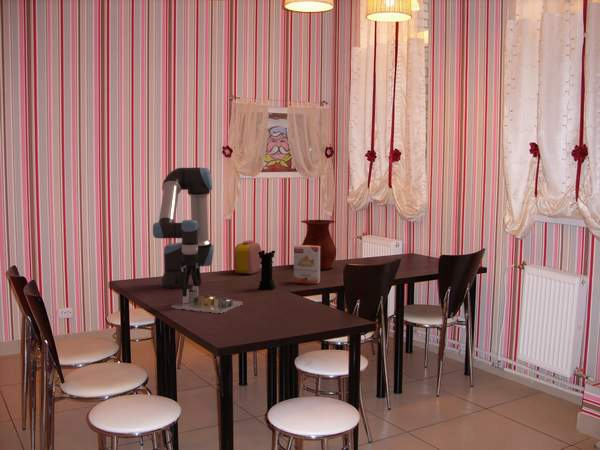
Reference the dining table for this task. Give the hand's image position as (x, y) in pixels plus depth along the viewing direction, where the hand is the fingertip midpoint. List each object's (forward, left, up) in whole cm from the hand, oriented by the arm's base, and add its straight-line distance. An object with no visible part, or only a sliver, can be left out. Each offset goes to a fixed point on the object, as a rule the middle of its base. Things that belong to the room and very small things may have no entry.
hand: (190, 301), depth 308 cm
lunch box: (-17, +89, -2) cm, 91 cm away
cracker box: (+28, +74, -2) cm, 79 cm away
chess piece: (+15, +50, -2) cm, 52 cm away
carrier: (+9, 0, -2) cm, 9 cm away
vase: (+15, +123, -2) cm, 124 cm away
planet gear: (0, 0, 0) cm, 0 cm away
